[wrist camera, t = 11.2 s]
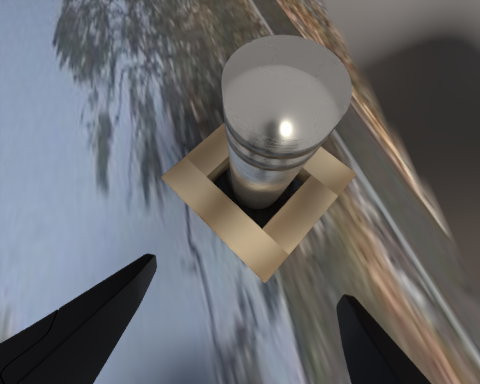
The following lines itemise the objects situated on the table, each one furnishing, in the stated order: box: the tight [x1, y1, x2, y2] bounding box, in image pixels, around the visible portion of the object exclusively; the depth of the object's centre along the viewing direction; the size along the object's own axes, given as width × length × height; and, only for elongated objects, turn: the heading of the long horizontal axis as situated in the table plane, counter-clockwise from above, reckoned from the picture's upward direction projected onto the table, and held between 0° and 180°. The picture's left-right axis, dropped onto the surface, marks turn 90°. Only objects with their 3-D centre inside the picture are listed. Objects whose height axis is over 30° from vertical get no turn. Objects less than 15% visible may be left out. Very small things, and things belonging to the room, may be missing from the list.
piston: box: [221, 35, 352, 210], centre depth 14 cm, size 5×5×13 cm
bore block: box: [161, 123, 356, 283], centre depth 19 cm, size 13×13×2 cm
